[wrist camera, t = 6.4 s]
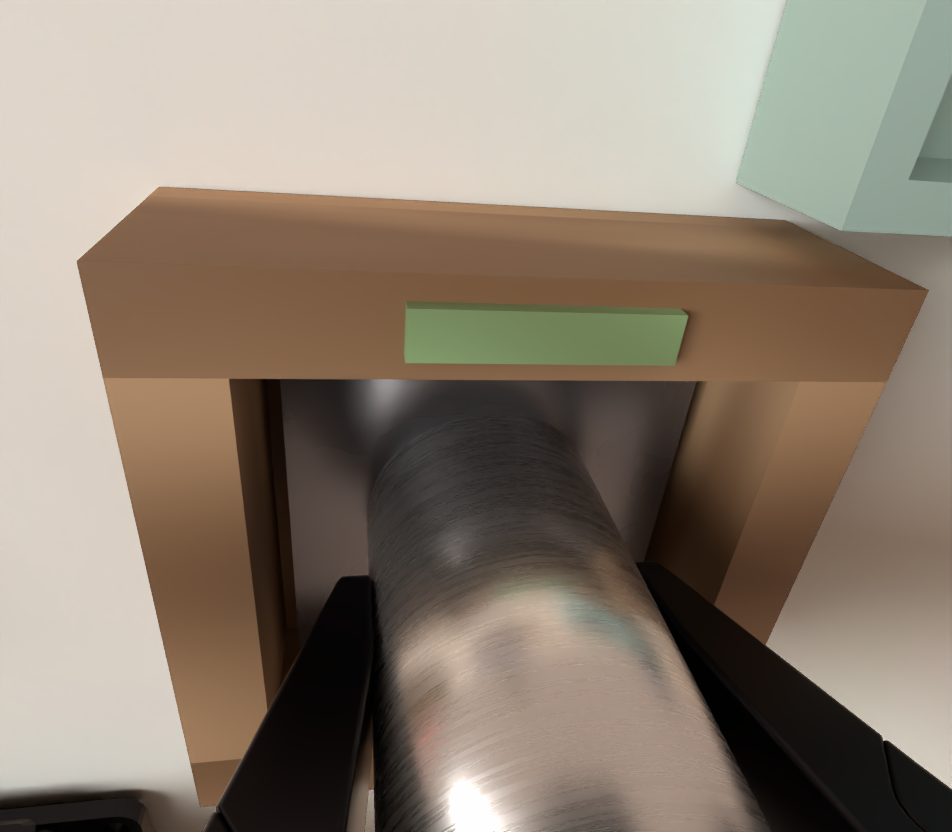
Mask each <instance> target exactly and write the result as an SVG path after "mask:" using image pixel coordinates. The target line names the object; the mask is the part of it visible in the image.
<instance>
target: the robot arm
mask: <svg viewBox="0 0 952 832" xmlns="http://www.w3.org/2000/svg"><path fill="white" fill-rule="evenodd" d="M635 564H636V566H637V568H638V570H639V572H640V573H641V575H642V577H643V579H644V581H645V583H646V585H647V587H648V589H649V591H650V593H651V595H652V597H653V599H654V601H655V603H656V605H657V607H658V609H659V611H660V613H661V615H662V617H663V619H664V620H665V622H666V624H667V626H668V628H669V630H670V632H671V634H672V636H673V638H674V640H675V642H676V644H677V646H678V648H679V650H680V652H681V654H682V656H683V658H684V660H685V662H686V664H687V666H688V667H689V669H690V671H691V673H692V675H693V677H694V679H695V681H696V683H697V685H698V687H699V689H700V691H701V693H702V695H703V697H704V699H705V701H706V703H707V705H708V707H709V709H710V711H711V712H712V714H713V716H714V718H715V720H716V722H717V724H718V726H719V728H720V730H721V732H722V734H723V736H724V738H725V740H726V742H727V744H728V746H729V748H730V750H731V752H732V754H733V756H734V758H735V759H736V761H737V763H738V765H739V767H740V769H741V771H742V773H743V775H744V777H745V779H746V781H747V783H748V785H749V787H750V789H751V791H752V793H753V795H754V797H755V799H756V801H757V803H758V805H759V806H760V808H761V810H762V812H763V814H764V816H765V818H766V820H767V822H768V824H769V826H770V828H771V830H772V832H952V789H951V788H949V787H948V786H947V785H945V784H944V783H943V782H941V781H940V780H939V779H937V778H936V777H935V776H933V775H932V774H931V773H929V772H928V771H927V770H925V769H924V768H923V767H921V766H920V765H919V764H918V763H916V762H915V761H914V760H912V759H911V758H910V757H909V756H907V755H906V754H905V753H903V752H902V751H901V750H900V749H898V748H897V747H896V746H894V745H893V744H892V743H891V742H889V741H887V740H885V741H883V738H882V736H881V735H880V734H879V733H877V732H876V731H875V730H874V729H872V728H871V727H870V726H868V725H867V724H866V723H865V722H863V721H862V720H861V719H859V718H858V717H857V716H856V715H854V714H853V713H852V712H850V711H849V710H848V709H847V708H845V707H844V706H843V705H841V704H840V703H839V702H838V701H836V700H835V699H834V698H832V697H831V696H830V695H829V694H827V693H826V692H825V691H824V690H822V689H821V688H820V687H818V686H817V685H816V684H815V683H813V682H812V681H811V680H809V679H808V678H807V677H806V676H804V675H803V674H802V673H800V672H799V671H798V670H797V669H795V668H794V667H793V666H791V665H790V664H789V663H788V662H786V661H785V660H784V659H782V658H781V657H780V656H779V655H777V654H776V653H775V652H773V651H772V650H771V649H770V648H768V647H767V646H766V645H765V644H763V643H762V642H761V641H759V640H758V639H757V638H756V637H754V636H753V635H752V634H750V633H749V632H748V631H747V630H745V629H744V628H743V627H741V626H740V625H739V624H738V623H736V622H735V621H734V620H732V619H731V618H730V617H729V616H727V615H726V614H725V613H723V612H722V611H721V610H720V609H718V608H717V607H716V606H714V605H713V604H712V603H711V602H709V601H708V600H707V599H705V598H704V597H703V596H702V595H700V594H699V593H698V592H697V591H695V590H694V589H693V588H691V587H690V586H689V585H688V584H686V583H685V582H684V581H682V580H681V579H680V578H679V577H677V576H676V575H675V574H673V573H672V572H671V571H670V570H668V569H667V568H666V567H664V566H663V565H662V564H660V563H658V562H655V561H647V562H635ZM373 674H374V628H373V603H372V581H371V578H370V576H368V575H357V576H343V577H341V578H340V579H339V580H338V581H337V583H336V585H335V586H334V588H333V590H332V592H331V594H330V596H329V598H328V599H327V601H326V603H325V605H324V607H323V609H322V611H321V612H320V614H319V616H318V618H317V620H316V622H315V624H314V625H313V627H312V629H311V631H310V633H309V635H308V637H307V638H306V640H305V642H304V644H303V646H302V648H301V650H300V651H299V653H298V655H297V657H296V659H295V661H294V663H293V664H292V666H291V668H290V670H289V672H288V674H287V676H286V677H285V679H284V681H283V683H282V685H281V687H280V689H279V690H278V692H277V694H276V696H275V698H274V700H273V702H272V703H271V705H270V707H269V709H268V711H267V713H266V715H265V716H264V718H263V720H262V722H261V724H260V726H259V728H258V729H257V731H256V733H255V735H254V737H253V739H252V741H251V742H250V744H249V746H248V748H247V750H246V752H245V754H244V755H243V757H242V759H241V761H240V763H239V765H238V767H237V768H236V770H235V772H234V774H233V776H232V778H231V780H230V781H229V783H228V785H227V787H226V789H225V791H224V793H223V794H222V796H221V798H220V800H219V802H218V804H217V806H216V811H217V812H215V813H213V814H212V815H211V816H210V818H209V820H208V822H207V823H206V825H205V827H204V829H203V831H202V832H365V822H366V812H367V802H368V792H369V782H370V772H371V761H372V747H373V734H372V692H373ZM0 832H153V830H152V827H151V823H150V820H149V817H148V813H147V810H146V808H145V806H144V805H143V804H142V803H140V802H139V801H137V800H133V799H128V798H116V799H106V800H96V801H86V802H76V803H66V804H56V805H46V806H36V807H26V808H16V809H6V810H0Z"/></svg>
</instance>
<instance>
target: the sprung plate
mask: <svg viewBox="0 0 952 832" xmlns="http://www.w3.org/2000/svg"><path fill="white" fill-rule="evenodd" d="M696 382H697V381H575V380H387V379H280V386H281V400H282V414H283V428H284V442H285V455H286V469H287V483H288V497H289V511H290V525H291V539H292V553H293V567H294V581H295V595H296V609H297V623H298V637H299V651H300V650H301V648H302V646H303V644H304V642H305V640H306V638H307V637H308V635H309V633H310V631H311V629H312V627H313V625H314V624H315V622H316V620H317V618H318V616H319V614H320V612H321V611H322V609H323V607H324V605H325V603H326V601H327V599H328V598H329V596H330V594H331V592H332V590H333V588H334V586H335V585H336V583H337V581H338V580H339V579H340V578H341V577H343V576H357V575H368V540H367V508H368V501H369V497H370V493H371V490H372V488H373V485H374V483H375V481H376V479H377V477H378V475H379V474H380V472H381V471H382V469H383V467H384V466H385V465H386V464H387V463H388V461H389V460H390V459H391V458H392V457H393V456H394V455H395V454H396V453H397V452H398V451H399V450H400V449H401V448H402V447H403V446H405V445H406V444H407V443H409V442H410V441H412V440H413V439H414V438H416V437H417V436H419V435H421V434H423V433H424V432H426V431H428V430H430V429H432V428H435V427H437V426H439V425H442V424H444V423H447V422H451V421H454V420H458V419H461V418H467V417H473V416H482V415H505V416H513V417H519V418H524V419H527V420H531V421H534V422H537V423H539V424H542V425H544V426H546V427H548V428H550V429H552V430H553V431H555V432H556V433H558V434H560V435H561V436H562V437H563V438H564V439H566V440H567V441H568V442H569V443H570V444H571V445H572V446H573V447H574V449H575V450H576V451H577V452H578V453H579V455H580V457H581V459H582V460H583V462H584V464H585V466H586V468H587V470H588V472H589V474H590V476H591V478H592V479H593V481H594V483H595V485H596V487H597V489H598V491H599V493H600V495H601V497H602V499H603V501H604V503H605V505H606V507H607V509H608V511H609V513H610V515H611V517H612V519H613V521H614V523H615V525H616V526H617V528H618V530H619V532H620V534H621V536H622V538H623V540H624V542H625V544H626V546H627V548H628V550H629V552H630V554H631V556H632V558H633V560H634V562H644V559H645V556H646V552H647V549H648V545H649V542H650V539H651V535H652V532H653V528H654V525H655V522H656V518H657V515H658V511H659V508H660V505H661V501H662V498H663V494H664V491H665V488H666V484H667V481H668V477H669V474H670V471H671V467H672V464H673V460H674V457H675V454H676V450H677V447H678V443H679V440H680V437H681V433H682V430H683V426H684V423H685V420H686V416H687V413H688V409H689V406H690V402H691V399H692V396H693V392H694V389H695V385H696Z"/></svg>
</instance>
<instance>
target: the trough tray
mask: <svg viewBox="0 0 952 832" xmlns="http://www.w3.org/2000/svg"><path fill="white" fill-rule="evenodd" d="M736 183H737V184H739V185H741V186H744V187H746V188H748V189H750V190H752V191H754V192H757V193H759V194H761V195H763V196H765V197H768V198H770V199H772V200H774V201H776V202H779V203H781V204H783V205H785V206H787V207H790V208H792V209H794V210H796V211H798V212H801V213H803V214H805V215H807V216H809V217H812V218H814V219H816V220H818V221H820V222H823V223H825V224H827V225H829V226H831V227H834V228H836V229H838V230H840V231H852V232H871V233H891V234H910V235H930V236H949V237H952V0H787V1H786V5H785V8H784V12H783V16H782V19H781V23H780V26H779V30H778V33H777V37H776V41H775V44H774V48H773V51H772V55H771V58H770V62H769V66H768V69H767V73H766V76H765V80H764V83H763V87H762V91H761V94H760V98H759V101H758V105H757V109H756V112H755V116H754V119H753V123H752V126H751V130H750V134H749V137H748V141H747V144H746V148H745V151H744V155H743V159H742V162H741V166H740V169H739V173H738V177H737V180H736Z"/></svg>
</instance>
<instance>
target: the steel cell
mask: <svg viewBox="0 0 952 832" xmlns="http://www.w3.org/2000/svg"><path fill="white" fill-rule="evenodd" d="M367 540H368V576H370V578H371V581H372V603H373V628H374V674H373V692H372V734H373V772H374V811H375V832H772V830H771V828H770V826H769V824H768V822H767V820H766V818H765V816H764V814H763V812H762V810H761V808H760V806H759V805H758V803H757V801H756V799H755V797H754V795H753V793H752V791H751V789H750V787H749V785H748V783H747V781H746V779H745V777H744V775H743V773H742V771H741V769H740V767H739V765H738V763H737V761H736V759H735V758H734V756H733V754H732V752H731V750H730V748H729V746H728V744H727V742H726V740H725V738H724V736H723V734H722V732H721V730H720V728H719V726H718V724H717V722H716V720H715V718H714V716H713V714H712V712H711V711H710V709H709V707H708V705H707V703H706V701H705V699H704V697H703V695H702V693H701V691H700V689H699V687H698V685H697V683H696V681H695V679H694V677H693V675H692V673H691V671H690V669H689V667H688V666H687V664H686V662H685V660H684V658H683V656H682V654H681V652H680V650H679V648H678V646H677V644H676V642H675V640H674V638H673V636H672V634H671V632H670V630H669V628H668V626H667V624H666V622H665V620H664V619H663V617H662V615H661V613H660V611H659V609H658V607H657V605H656V603H655V601H654V599H653V597H652V595H651V593H650V591H649V589H648V587H647V585H646V583H645V581H644V579H643V577H642V575H641V573H640V572H639V570H638V568H637V566H636V564H635V562H634V560H633V558H632V556H631V554H630V552H629V550H628V548H627V546H626V544H625V542H624V540H623V538H622V536H621V534H620V532H619V530H618V528H617V526H616V525H615V523H614V521H613V519H612V517H611V515H610V513H609V511H608V509H607V507H606V505H605V503H604V501H603V499H602V497H601V495H600V493H599V491H598V489H597V487H596V485H595V483H594V481H593V479H592V478H591V476H590V474H589V472H588V470H587V468H586V466H585V464H584V462H583V460H582V459H581V457H580V455H579V453H578V452H577V451H576V450H575V449H574V447H573V446H572V445H571V444H570V443H569V442H568V441H567V440H566V439H564V438H563V437H562V436H561V435H560V434H558V433H556V432H555V431H553V430H552V429H550V428H548V427H546V426H544V425H542V424H539V423H537V422H534V421H531V420H527V419H524V418H519V417H513V416H505V415H482V416H473V417H467V418H461V419H458V420H454V421H451V422H447V423H444V424H442V425H439V426H437V427H435V428H432V429H430V430H428V431H426V432H424V433H423V434H421V435H419V436H417V437H416V438H414V439H413V440H412V441H410V442H409V443H407V444H406V445H405V446H403V447H402V448H401V449H400V450H399V451H398V452H397V453H396V454H395V455H394V456H393V457H392V458H391V459H390V460H389V461H388V463H387V464H386V465H385V466H384V467H383V469H382V471H381V472H380V474H379V475H378V477H377V479H376V481H375V483H374V485H373V488H372V490H371V493H370V497H369V501H368V508H367Z"/></svg>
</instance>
